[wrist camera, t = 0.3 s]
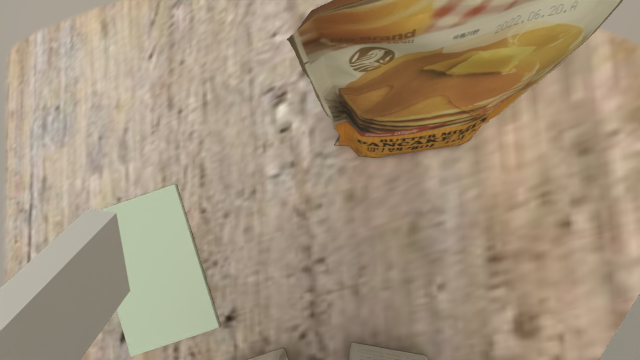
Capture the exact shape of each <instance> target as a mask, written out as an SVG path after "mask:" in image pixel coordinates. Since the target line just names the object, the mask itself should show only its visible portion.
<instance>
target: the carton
mask: <svg viewBox="0 0 640 360" xmlns="http://www.w3.org/2000/svg"><path fill="white" fill-rule="evenodd" d="M248 360H288V358H287V355H286V352H285V349H284V348H281V349H278V350H275V351H272V352H269V353H266V354H263V355H260V356H257V357H254V358H251V359H248Z"/></svg>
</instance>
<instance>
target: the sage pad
mask: <svg viewBox="0 0 640 360" xmlns="http://www.w3.org/2000/svg"><path fill="white" fill-rule="evenodd" d="M101 210H102V211H109V212H115V213H117V219H118V225H119V230H120V236H121V242H122V247H123V253H124V258H125V264H126V270H127V275H128V281H129V287H130V292H129V293H128V295H127V296H126V297H125V299H124V300H123V301H122V303H121V304H120V306H119V307H118V308H117V311H118V315H119V318H120V322H121V325H122V329H123V332H124V335H125V339H126V342H127V346H128V349H129V353H130V356H131V357H132V356H135V355H138V354H141V353H144V352H147V351H150V350H153V349H156V348H159V347H162V346H165V345H168V344H171V343H174V342H177V341H180V340H183V339H186V338H189V337H192V336H195V335H198V334H201V333H204V332H207V331H210V330H213V329H216V328H219V327H220V322H219V319H218V316H217V313H216V310H215V306H214V303H213V300H212V297H211V293H210V290H209V287H208V284H207V281H206V277H205V274H204V271H203V268H202V264H201V261H200V258H199V255H198V251H197V248H196V245H195V242H194V239H193V235H192V232H191V229H190V226H189V222H188V219H187V216H186V213H185V210H184V206H183V203H182V200H181V197H180V193H179V190H178V187H177V184H174V185H171V186H168V187H165V188H162V189H159V190H156V191H153V192H150V193H148V194H145V195H142V196H139V197H136V198H133V199H130V200H127V201H124V202H122V203H119V204H116V205H113V206H110V207H107V208H104V209H101Z"/></svg>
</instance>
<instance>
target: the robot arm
mask: <svg viewBox="0 0 640 360" xmlns="http://www.w3.org/2000/svg"><path fill="white" fill-rule="evenodd" d="M129 292H130V287H129V281H128V275H127V270H126V264H125V258H124V253H123V247H122V242H121V236H120V230H119V225H118V219H117V213H115V212H109V211H102V210H95V209H89V208H88V209H87V210H86V211H85V212H84V213H83V214H82V215H81V216H79V217H78V218H77V219H76V220H75V221H74V222H73V223H72V224H71V225H70V226H68V227H67V228H66V229H65V230H64V231H63V232H62V233H61V234H60V235H59V236H57V237H56V238H55V239H54V240H53V241H52V242H51V243H50V244H49V245H47V246H46V247H45V248H44V249H43V250H42V251H41V252H40V253H39V254H38V255H36V256H35V257H34V258H33V259H32V260H31V261H30V262H29V263H28V264H27V265H25V266H24V267H23V268H22V269H21V270H20V271H19V272H18V273H17V274H16V275H14V276H13V277H12V278H11V279H10V280H9V281H8V282H7V283H6V284H5V285H3V286H2V287H1V288H0V360H81V358H82V357H83V355H84V354H85V353H86V351H87V350H88V348H89V347H90V346H91V344H92V343H93V342H94V340H95V339H96V337H97V336H98V335H99V333H100V332H101V331H102V329H103V328H104V326H105V325H106V324H107V322H108V321H109V319H110V318H111V317H112V315H113V314H114V313H115V311H116V310H117V308H118V307H119V306H120V304H121V303H122V301H123V300H124V299H125V297H126V296H127V295H128V293H129ZM599 360H640V294H639V296H638V298H637V299H636V301H635V302H634V304H633V306H632V307H631V309H630V310H629V312H628V314H627V315H626V317H625V318H624V320H623V322H622V323H621V325H620V326H619V328H618V330H617V331H616V333H615V334H614V336H613V338H612V339H611V341H610V342H609V344H608V346H607V347H606V349H605V351H604V352H603V354H602V355H601V357H600V359H599Z"/></svg>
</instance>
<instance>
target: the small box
mask: <svg viewBox="0 0 640 360" xmlns="http://www.w3.org/2000/svg"><path fill="white" fill-rule="evenodd" d="M349 360H428V358H427V357H426V356H425V355H420V354H414V353H408V352H403V351H397V350H391V349H386V348H380V347H375V346H369V345H363V344H358V343H351V349H350V355H349Z"/></svg>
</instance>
